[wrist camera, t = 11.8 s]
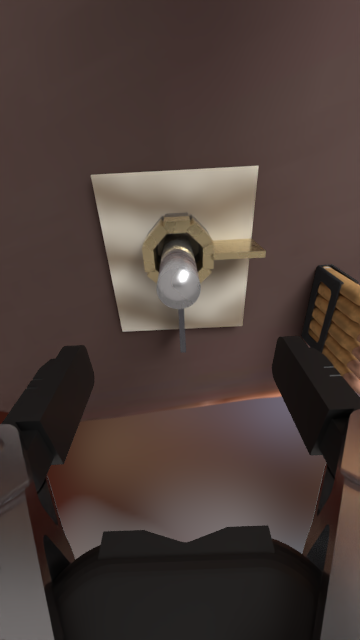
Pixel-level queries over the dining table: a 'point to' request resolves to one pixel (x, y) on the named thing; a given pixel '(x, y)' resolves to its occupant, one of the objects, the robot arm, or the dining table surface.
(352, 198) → the dining table surface
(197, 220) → the base plate with nut
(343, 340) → the ammunition clip
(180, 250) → the hinge pin
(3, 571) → the robot arm
